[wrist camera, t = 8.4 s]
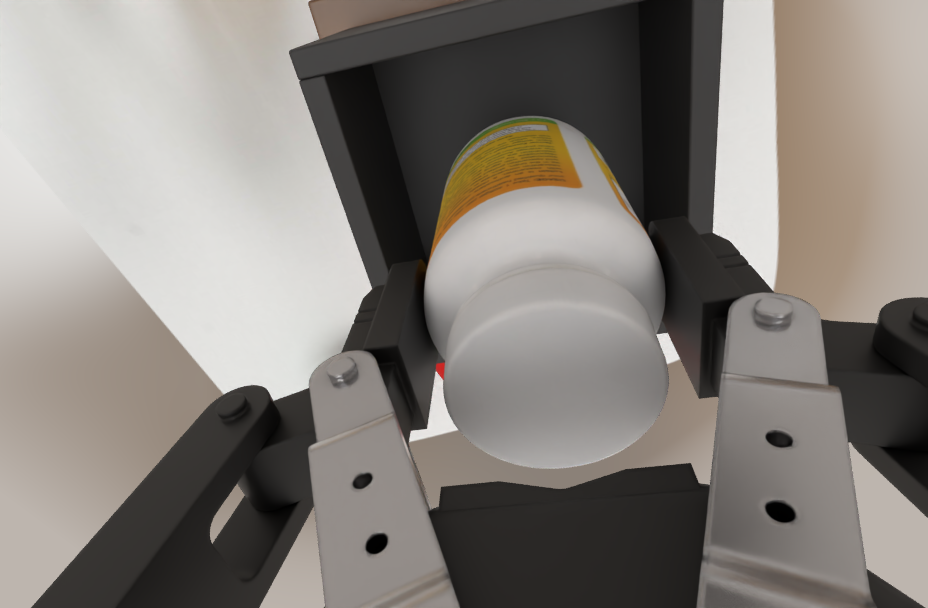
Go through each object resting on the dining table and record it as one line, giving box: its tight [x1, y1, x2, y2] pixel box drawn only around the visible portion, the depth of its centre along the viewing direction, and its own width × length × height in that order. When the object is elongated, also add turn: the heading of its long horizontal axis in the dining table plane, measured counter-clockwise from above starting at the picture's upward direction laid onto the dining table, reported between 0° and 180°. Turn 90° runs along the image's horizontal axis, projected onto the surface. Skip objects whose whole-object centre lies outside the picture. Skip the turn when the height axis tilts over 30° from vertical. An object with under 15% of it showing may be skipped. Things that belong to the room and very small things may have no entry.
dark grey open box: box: [289, 0, 724, 364], centre depth 19 cm, size 12×12×7 cm
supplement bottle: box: [424, 116, 669, 469], centre depth 13 cm, size 5×5×10 cm
